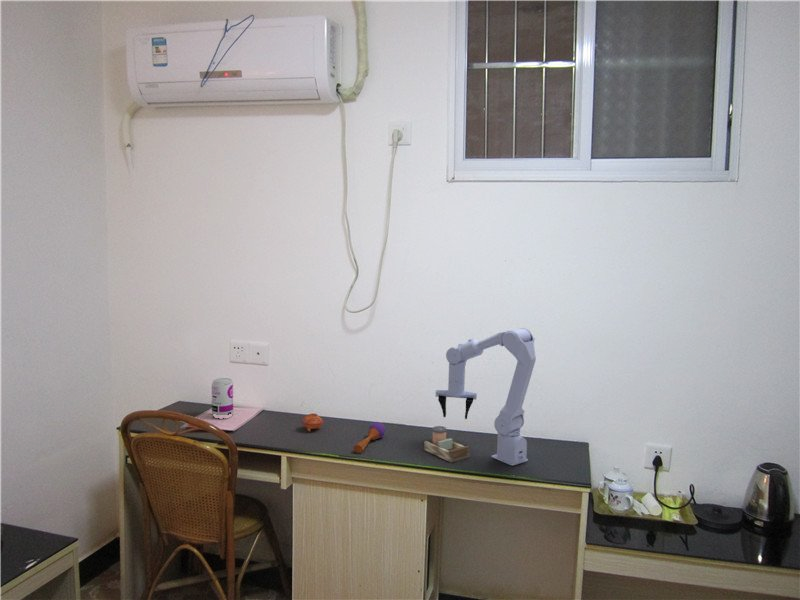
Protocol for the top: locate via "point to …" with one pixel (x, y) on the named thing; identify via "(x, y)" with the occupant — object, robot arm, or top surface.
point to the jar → (438, 434)
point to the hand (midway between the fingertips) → (455, 417)
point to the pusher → (445, 444)
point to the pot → (312, 421)
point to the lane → (448, 451)
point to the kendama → (371, 436)
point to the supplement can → (222, 396)
